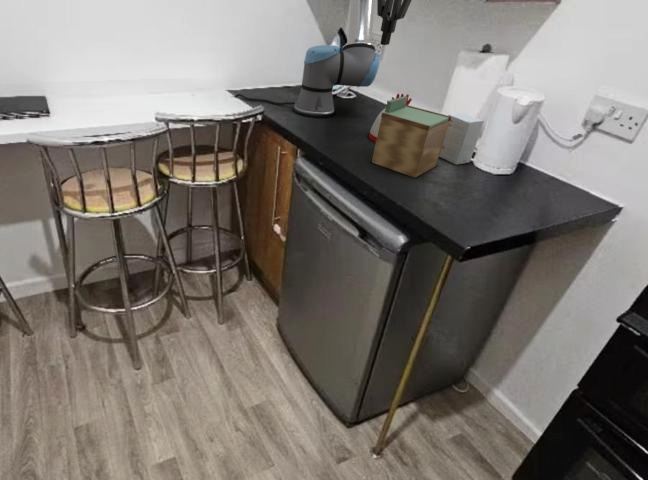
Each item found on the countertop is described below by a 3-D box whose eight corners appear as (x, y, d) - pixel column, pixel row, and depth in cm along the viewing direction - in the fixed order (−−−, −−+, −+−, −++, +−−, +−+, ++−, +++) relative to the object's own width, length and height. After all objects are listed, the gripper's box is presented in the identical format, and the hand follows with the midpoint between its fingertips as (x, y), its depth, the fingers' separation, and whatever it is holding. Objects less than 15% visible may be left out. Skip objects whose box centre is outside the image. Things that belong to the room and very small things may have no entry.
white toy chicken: (418, 146, 150) (431, 100, 142) (380, 146, 147) (391, 99, 139) (398, 132, 161) (409, 88, 153) (362, 132, 158) (371, 87, 150)
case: (370, 162, 135) (382, 112, 127) (394, 151, 144) (406, 104, 136) (414, 178, 127) (429, 126, 119) (436, 165, 136) (451, 116, 128)
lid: (381, 115, 128) (385, 101, 126) (403, 108, 136) (406, 95, 134) (428, 128, 120) (432, 114, 118) (448, 120, 128) (452, 106, 126)
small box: (470, 162, 140) (484, 120, 133) (455, 165, 138) (469, 122, 131) (450, 153, 146) (463, 112, 139) (435, 155, 144) (448, 114, 137)
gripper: (376, -53, 124) (359, 41, 137) (420, -51, 117) (398, 49, 130) (389, -51, 129) (371, 40, 141) (433, -49, 122) (410, 47, 134)
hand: (384, 44), depth 136 cm, fingers closed
